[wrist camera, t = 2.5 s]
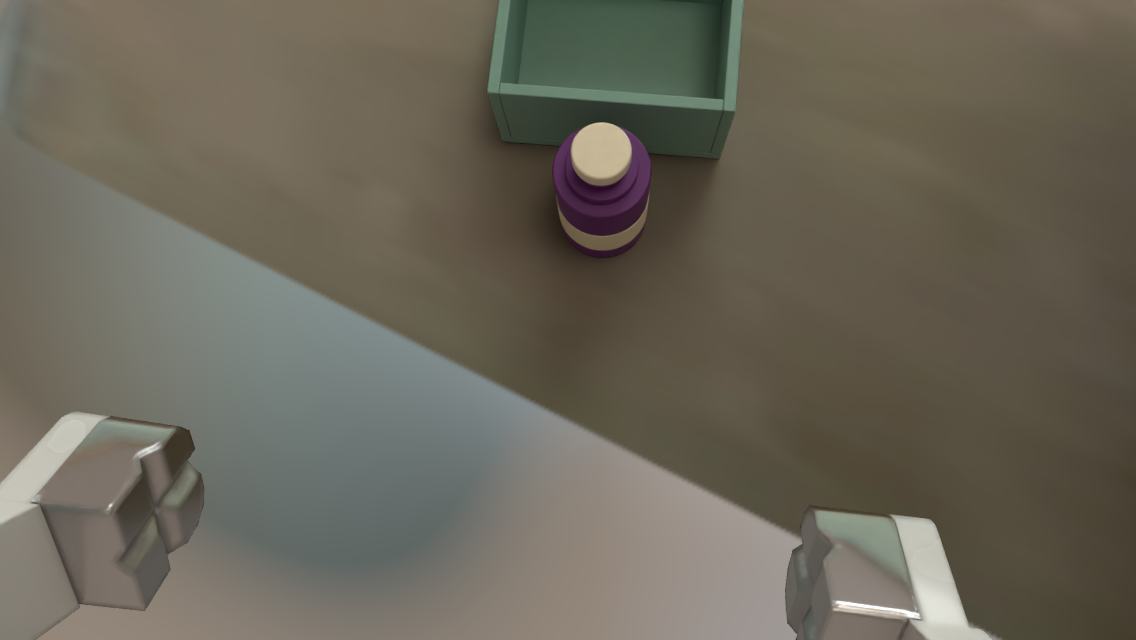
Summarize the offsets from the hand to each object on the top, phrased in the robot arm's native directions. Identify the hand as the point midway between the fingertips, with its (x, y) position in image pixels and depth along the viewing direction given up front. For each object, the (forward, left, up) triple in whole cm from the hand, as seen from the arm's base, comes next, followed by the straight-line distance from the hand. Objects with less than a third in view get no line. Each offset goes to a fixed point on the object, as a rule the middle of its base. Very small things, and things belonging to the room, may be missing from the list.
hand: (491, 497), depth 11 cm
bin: (0, -19, -26) cm, 32 cm away
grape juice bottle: (0, -12, -26) cm, 29 cm away
